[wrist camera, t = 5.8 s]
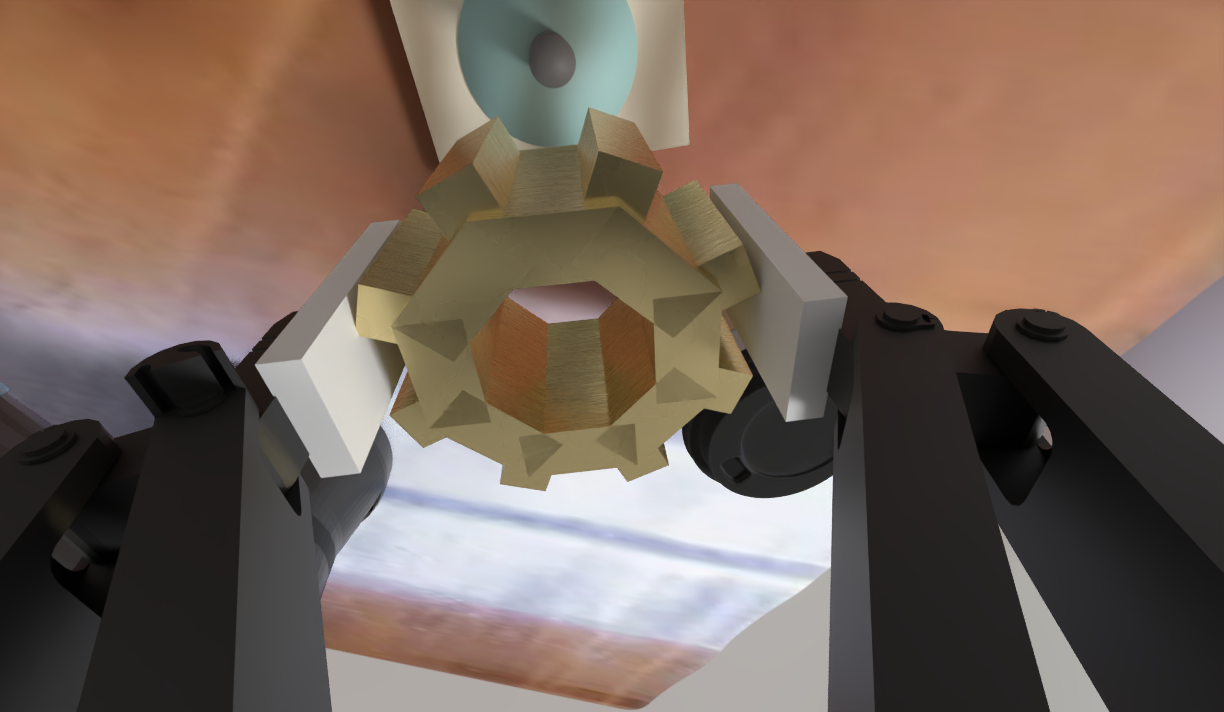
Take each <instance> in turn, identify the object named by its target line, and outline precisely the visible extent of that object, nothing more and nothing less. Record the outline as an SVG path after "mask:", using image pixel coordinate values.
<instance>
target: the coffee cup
mask: <svg viewBox="0 0 1224 712" xmlns="http://www.w3.org/2000/svg"><path fill="white" fill-rule="evenodd" d="M721 313H722V315H723V317H724V319H725V321H726V323H727V325H728V327H729V329H730V331H731V333H732V335H733V337H734V339H735V341H736V343H737V345H738V347H739V349H740V351H741V353H742V355H743V357H744V359H745V361H746V363H747V365H748V367H749V369H750V371H751V373H752V375H753V377H752V378H751V380H750V382H749V383H748V385H747V387H746V389H745V390H744V392H743V394H742V396H741V397H740V399H739V401H738V402H737V404H736V406H735V408H734V409H733V411H732V413H731V414H729V413H724V412H719V411H714V410H710V409H705V408H704V409H703V410H702V411H701V412H699V413H698V414H697V415H696V416H695V417H694V418H692V419H691V420H690V421H689V422H688V423H686V424H685V425H684V426H683V427H682V434H683V440H684V444H685V446H686V449H687V451H688V453H689V454H690V456H691V457H692V458H693V460H694V462H695V463H696V465H697V466H698V467H699V469H700V470H701V471H702V472H703V473H705V474H706V475H707V476H708V477H710V478H711V479H713V480H715V481H717V482H719V483H721V484H722V485H723V486H724V487H726V488H727V489H729V490H731V491H733V492H735V493H737V494H740V495H743V496H748V497H754V498H775V497H782V496H787V495H791V494H795V493H798V492H801V491H804V490H807V489H809V488H811V487H814V486H816V485H818V484H820V483H821V482H823V481H825V480H826V479H828V478H829V477H831V476H832V475H833V455H830V454H828V451H829V446H830V442H831V438H832V433H833V429H834V424H835V420H836V415H837V411H838V408H837V406H836V405H835V403H834V402H833V400H832V399H831V397H830V396H829V394H828V396H827V401H826V406H825V411H824V416H823V417H822V418H813V419H805V420H797V421H788V422H786V421H785V419H784V418H783V416H782V414H781V412H780V410H779V408H778V407H777V405H776V403H775V401H774V399H773V397H772V395H771V394H770V392H769V390H768V388H767V386H766V384H765V382H764V381H763V379H762V377H761V375H760V373H759V371H758V369H757V368H756V366H755V364H754V362H753V360H752V358H751V356H750V355H749V353H748V351H747V349H746V347H745V345H744V343H743V342H742V340H741V338H740V336H739V334H738V332H737V330H736V329H735V327H734V325H733V323H732V321H731V319H730V317H729V316H728V314H727V312H726V310H725V309H724V310H722V312H721Z"/></svg>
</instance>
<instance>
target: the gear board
mask: <svg viewBox="0 0 1224 712" xmlns="http://www.w3.org/2000/svg"><path fill="white" fill-rule="evenodd" d="M390 3H391V6H392V9H393V13H394V16H395V19H396V22H397V26H398V29H399V32H400V35H401V39H402V42H403V45H404V48H405V52H406V55H407V58H408V61H409V65H410V68H411V71H412V74H413V78H414V81H415V84H416V88H417V91H418V94H419V97H420V101H421V104H422V107H423V110H424V114H425V117H426V120H427V123H428V127H429V130H430V133H431V136H432V140H433V143H434V146H435V149H436V153H437V156H438V159H439V162H441V161H442V160H443V158H444V157H445V156H446V154H447V153H448V152H449V150H450V149H451V148H452V146H453V145H454V144H455V142H456V141H457V140H458V139H460V138H462V137H463V136H465V135H467V134H468V133H470V132H472V131H473V130H475V129H477V128H478V127H480V126H482V125H483V124H485V123H487V122H488V121H490V120H492V119H494V118H495V117H497V116H499V118H500V119H501V121H502V123H503V124H504V126H505V128H506V129H507V131H508V133H509V135H510V136H511V138H512V140H513V141H514V143H515V145H516V146H517V148H518V150H528V149H538V148H548V147H558V146H569V145H578V143H579V139H580V136H581V132H582V128H583V125H584V121H585V118H586V114H587V110H588V107H590V108H593V109H596V110H599V111H602V112H605V113H608V114H611V115H614V116H617V117H620V118H623V119H625V120H628V121H631V122H634V123H635V124H636V125H637V127H638V129H639V131H640V132H641V134H642V136H643V138H644V139H645V141H646V143H647V144H648V146H649V148H650V150H651V151H654V150H660V149H666V148H672V147H678V146H684V145H689V123H688V99H687V74H686V50H685V25H684V1H683V0H390Z"/></svg>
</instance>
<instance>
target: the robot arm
mask: <svg viewBox="0 0 1224 712" xmlns="http://www.w3.org/2000/svg"><path fill="white" fill-rule="evenodd" d="M710 200H711V201H712V203H713V204H714V205H715V207H716V208H717V209H718V211H719V212H720V213H721V215H722V216H723V218H724V219H725V220H726V222H727V223H728V224H729V226H730V227H731V228H732V230H733V231H734V233H735V234H736V235H737V237H738V238H739V239H740V241H741V242H742V243H743V245H744V248H745V251H746V253H747V256H748V258H749V261H750V264H751V266H752V269H753V272H754V274H755V277H756V280H757V282H758V285H759V287H760V290H761V293H758V294H756V295H754V296H752V297H750V298H748V299H745V300H743V301H741V302H739V303H737V304H735V305H732V306H730V307H728V308H726V309H725V310H726V312H727V314H728V316H729V317H730V319H731V321H732V323H733V325H734V327H735V329H736V330H737V332H738V334H739V336H740V338H741V340H742V342H743V343H744V345H745V347H746V349H747V351H748V353H749V355H750V356H751V358H752V360H753V362H754V364H755V366H756V368H757V369H758V371H759V373H760V375H761V377H762V379H763V381H764V382H765V384H766V386H767V388H768V390H769V392H770V394H771V395H772V397H773V399H774V401H775V403H776V405H777V407H778V408H779V410H780V412H781V414H782V416H783V418H784V419H785V421H786V422H788V421H797V420H805V419H813V418H822V417H823V416H824V411H825V406H826V401H827V396H828V394H829V396H830V397H831V399H832V400H833V402H834V403H835V405H836V406H837V408H838V411H837V415H836V420H835V424H834V429H833V433H832V438H831V442H830V446H829V451H828V454H830V455H833V499H832V546H831V594H830V638H829V641H830V642H829V685H828V686H829V687H828V712H1050V709H1049V706H1048V702H1047V699H1046V695H1045V691H1044V688H1043V684H1042V681H1041V677H1040V674H1039V670H1038V666H1037V663H1036V659H1035V655H1034V652H1033V648H1032V645H1031V641H1030V638H1029V634H1028V630H1027V627H1026V623H1025V619H1024V616H1023V612H1022V609H1021V605H1020V602H1019V598H1018V595H1017V591H1016V587H1015V583H1014V580H1013V576H1012V573H1011V569H1010V565H1009V562H1008V558H1007V555H1006V551H1005V548H1004V544H1003V540H1002V537H1001V533H1000V530H999V526H1000V528H1001V529H1002V531H1003V533H1004V534H1005V536H1006V538H1007V539H1008V541H1009V543H1010V544H1011V546H1012V548H1013V550H1014V551H1015V553H1016V555H1017V556H1018V558H1019V560H1020V561H1021V563H1022V565H1023V567H1024V568H1025V570H1026V572H1027V573H1028V575H1029V577H1030V578H1031V580H1032V581H1033V583H1034V585H1035V587H1036V588H1037V590H1038V592H1039V594H1040V595H1041V597H1042V599H1043V600H1044V602H1045V604H1046V605H1047V607H1048V609H1049V610H1050V612H1051V614H1052V615H1053V617H1054V619H1055V620H1056V622H1057V624H1058V626H1059V627H1060V629H1061V631H1062V632H1063V634H1064V636H1065V637H1066V639H1067V641H1068V642H1069V644H1070V646H1071V648H1072V649H1073V651H1074V653H1075V654H1076V656H1077V658H1078V659H1079V661H1080V663H1081V664H1082V666H1083V668H1084V669H1085V671H1086V673H1087V675H1088V676H1089V678H1090V680H1091V681H1092V683H1093V685H1094V686H1095V688H1096V690H1097V691H1098V693H1099V695H1100V696H1101V698H1102V700H1103V702H1104V703H1105V705H1106V707H1107V708H1108V710H1109V712H1224V444H1223V443H1221V442H1220V441H1219V440H1218V439H1217V438H1215V437H1214V436H1213V435H1212V434H1211V433H1209V432H1208V431H1207V430H1206V429H1205V428H1204V427H1202V426H1201V425H1200V424H1199V423H1198V422H1196V421H1195V420H1194V419H1193V418H1192V417H1191V416H1189V415H1188V414H1187V413H1186V412H1185V411H1184V410H1182V409H1181V408H1180V407H1179V406H1178V405H1176V404H1175V403H1174V402H1173V401H1172V400H1170V399H1169V398H1168V397H1167V396H1166V395H1164V394H1163V393H1162V392H1161V391H1160V390H1159V389H1157V388H1156V387H1155V386H1154V385H1153V384H1151V383H1150V382H1149V381H1148V380H1147V379H1146V378H1144V377H1143V376H1142V375H1141V374H1140V373H1138V372H1137V371H1136V370H1135V369H1134V368H1132V367H1131V366H1130V365H1129V364H1128V363H1127V362H1125V361H1124V360H1123V359H1122V358H1121V357H1119V356H1118V355H1117V354H1116V353H1115V352H1113V351H1112V350H1111V349H1110V348H1109V347H1108V346H1106V345H1105V344H1104V343H1103V342H1102V341H1100V340H1099V339H1098V338H1097V337H1096V336H1095V335H1093V334H1092V333H1091V332H1090V331H1089V330H1087V329H1086V328H1085V327H1083V326H1081V325H1080V324H1078V323H1077V322H1075V321H1073V320H1071V319H1068V318H1066V317H1063V316H1061V315H1059V314H1058V313H1055V312H1051V311H1047V312H1046V311H1045V310H1042V309H1011V310H1005V311H1003V312H1001V313H999V314H996V316H995V318H994V321H993V323H992V326H991V328H990V331H989V333H974V332H959V331H947V330H944V328H943V325H942V323H941V322H940V321H939V319H938V318H937V317H936V316H934V315H933V314H931V313H930V312H928V311H927V310H924V309H921V308H918V307H916V306H913V305H908V304H902V303H886V302H885V301H884V300H883V299H882V298H881V297H880V296H879V295H877V294H876V293H875V292H874V291H873V290H872V289H871V288H870V287H869V286H868V285H867V284H866V283H865V282H863V281H860V278H859V277H858V276H857V275H856V274H855V273H854V272H851V270H850V269H849V268H848V267H847V266H846V265H845V264H844V263H843V262H842V261H841V260H840V259H838V258H836V257H833V256H831V255H829V254H826V253H824V252H822V251H816V252H807V253H805V252H804V251H803V250H802V249H801V248H800V247H799V246H798V245H797V244H796V243H795V242H794V241H793V240H792V239H791V238H790V237H789V236H788V235H787V234H786V233H785V232H784V231H783V230H782V229H781V228H780V227H779V225H778V224H777V223H776V222H775V221H774V220H773V219H772V218H771V217H770V216H769V215H768V214H767V213H766V212H765V211H764V210H763V209H762V208H761V207H760V206H759V205H758V204H757V203H756V202H755V201H754V200H753V199H752V198H751V197H750V196H749V195H748V194H747V193H746V192H745V191H744V189H743V188H742V187H741V186H740V185H739V184H738V183H735V184H725V185H716V186H710ZM400 225H401V222H400V220H393V221H383V222H374V223H371V224H370V225H369V226H368V228H367V229H366V230H365V231H364V232H363V234H362V235H361V236H360V237H359V239H358V240H357V241H356V242H355V243H354V245H353V246H352V247H351V248H350V249H349V251H348V252H347V253H346V254H345V256H344V257H343V258H342V259H341V260H340V262H339V263H338V264H337V265H336V267H335V268H334V269H333V270H332V271H331V273H330V274H329V275H328V276H327V277H326V279H325V280H324V281H323V282H322V284H321V285H320V286H319V287H318V288H317V290H316V291H315V292H314V293H313V294H312V296H311V297H310V298H309V299H308V301H307V302H306V303H305V304H304V305H303V307H302V308H301V309H300V310H299V311H296V312H292V313H290V314H289V315H287V316H286V317H284V318H283V319H281V320H280V321H278V322H277V323H275V324H274V325H273V326H272V327H271V328H270V329H269V331H268V332H267V333H266V334H265V335H264V336H263V337H262V341H259V342H258V343H257V344H256V346H255V347H254V348H253V349H252V350H253V352H249V354H248V355H247V356H246V357H245V358H244V359H243V361H242V362H241V363H240V364H239V365H238V366H237V367H236V369H235V368H234V367H233V365H232V364H231V362H230V360H229V359H228V357H227V355H226V354H225V352H224V351H223V349H222V347H221V346H220V344H219V343H217V342H213V341H210V340H208V341H193V342H189V343H184V344H179V345H176V346H173V347H171V348H168V349H165V350H162V351H160V352H158V353H156V354H154V355H152V356H150V357H148V358H146V359H144V360H143V361H141V362H140V363H139V364H137V365H136V366H134V367H133V368H132V369H131V370H130V371H129V372H128V374H127V375H126V376H125V379H126V381H127V382H128V383H129V384H130V386H131V387H132V388H133V390H134V391H135V392H136V393H137V395H138V396H139V397H140V399H141V400H142V401H143V402H144V404H145V405H146V406H147V408H148V409H149V410H150V411H151V413H152V414H153V415H154V417H155V421H154V425H153V427H151V428H148V429H144V430H141V431H138V432H134V433H131V434H127V435H124V436H121V437H117V438H114V439H113V437H112V436H111V435H110V434H109V433H108V432H107V430H106V429H105V428H104V427H103V426H102V425H101V424H100V422H99V421H95V420H91V419H84V420H75V421H70V422H67V423H63V424H60V425H52V424H50V423H49V422H47V421H46V420H44V419H43V418H42V417H40V416H39V415H37V414H36V413H34V412H33V411H32V410H30V409H29V408H27V407H26V406H24V405H23V404H22V403H20V402H19V401H17V400H16V399H14V398H13V397H12V396H10V395H9V394H7V393H6V392H8V391H10V390H11V388H10V387H8V386H7V385H5V384H4V383H3V382H1V381H0V712H332V707H331V698H330V688H329V678H328V670H327V660H326V650H325V640H324V631H323V621H322V612H321V602H320V600H321V597H322V594H323V591H324V588H325V585H326V582H327V579H328V577H329V574H330V571H331V568H332V566H333V563H334V560H335V557H336V555H337V554H338V553H339V551H340V550H341V549H342V548H343V546H344V545H345V544H346V542H347V541H348V539H349V538H350V537H351V535H352V534H353V533H354V531H355V530H356V529H357V527H358V526H359V524H360V523H361V522H362V521H363V520H364V519H366V518H367V517H368V516H369V515H370V514H371V512H372V511H373V510H374V509H375V508H376V506H377V505H378V503H379V502H380V500H381V498H382V496H383V494H384V491H385V488H386V485H387V482H388V479H389V476H390V472H391V468H392V450H391V446H390V443H389V440H388V438H387V436H386V434H385V432H384V430H383V429H382V427H381V426H380V424H381V422H382V420H383V417H384V415H385V412H386V410H387V407H388V405H389V403H390V400H391V398H392V395H393V393H394V390H395V388H396V386H397V383H398V381H399V378H400V376H401V373H402V371H403V369H404V366H405V362H404V360H403V357H402V354H401V352H400V349H399V346H398V344H395V343H390V342H386V341H381V340H376V339H371V338H367V337H362V336H359V335H358V332H357V330H356V313H357V298H358V284H359V283H360V281H361V280H362V278H363V277H364V276H365V274H366V273H367V271H368V270H369V269H370V267H371V266H372V264H373V263H374V262H375V260H376V259H377V257H378V256H379V255H380V253H381V252H382V250H383V249H384V248H385V246H386V245H387V243H388V242H389V241H390V239H391V238H392V236H393V235H394V234H395V232H396V231H397V229H398V228H399V227H400ZM1047 426H1048V428H1049V430H1050V432H1051V436H1052V446H1051V445H1050V444H1049V443H1048V441H1047V440H1046V439H1045V438H1044V437H1043V435H1042V434H1043V432H1044V430H1045V428H1046V427H1047ZM998 524H999V526H998Z"/></svg>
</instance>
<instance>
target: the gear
mask: <svg viewBox="0 0 1224 712" xmlns="http://www.w3.org/2000/svg"><path fill="white" fill-rule="evenodd" d="M662 173H663V170H662V169H661V167H660V165H659V163H658V162H657V160H656V158H655V157H654V155H653V153H652V151H651V150H650V148H649V146H648V144H647V143H646V141H645V139H644V138H643V136H642V134H641V132H640V131H639V129H638V127H637V125H636V124H635V123H634V122H631V121H628V120H625V119H623V118H620V117H617V116H614V115H611V114H608V113H605V112H602V111H599V110H596V109H593V108H590V107H588V110H587V114H586V118H585V121H584V125H583V128H582V132H581V136H580V139H579V143H578V145H569V146H558V147H548V148H538V149H528V150H518V148H517V146H516V145H515V143H514V141H513V140H512V138H511V136H510V135H509V133H508V131H507V129H506V128H505V126H504V124H503V123H502V121H501V119H500V118H499V116H497V117H495V118H494V119H492V120H490V121H488V122H487V123H485V124H483V125H482V126H480V127H478V128H477V129H475V130H473V131H472V132H470V133H468V134H467V135H465V136H463V137H462V138H460V139H458V140H457V141H456V142H455V144H454V145H453V146H452V148H451V149H450V150H449V152H448V153H447V154H446V156H445V157H444V158H443V160H442V161H441V162H440V164H439V165H438V167H437V168H436V169H435V171H434V172H433V173H432V175H431V176H430V177H429V179H428V180H427V181H426V183H425V184H424V185H423V187H422V188H421V189H420V191H419V192H418V193H417V195H416V196H415V197H416V198H417V199H418V201H419V202H420V203H421V205H422V206H423V207H424V209H425V210H426V211H427V212H425V211H421V210H418V209H414V208H412V210H411V211H410V213H409V214H408V215H407V217H406V218H405V220H404V221H403V222H402V224H401V225H400V227H399V228H398V229H397V231H396V232H395V234H394V235H393V236H392V238H391V239H390V241H389V242H388V243H387V245H386V246H385V248H384V249H383V250H382V252H381V253H380V255H379V256H378V257H377V259H376V260H375V262H374V263H373V264H372V266H371V267H370V269H369V270H368V271H367V273H366V274H365V276H364V277H363V278H362V280H361V281H360V283H359V284H358V298H357V313H356V330H357V332H358V335H359V336H362V337H367V338H371V339H376V340H381V341H386V342H390V343H395V344H398V346H399V349H400V352H401V354H402V357H403V360H404V362H405V365H406V368H407V370H408V372H407V374H406V376H405V379H404V381H403V384H402V386H401V389H400V391H399V393H398V396H397V398H396V401H395V403H394V405H393V408H392V410H391V413H390V415H389V416H391V417H392V418H393V419H394V420H395V421H396V422H397V423H398V424H399V425H400V426H401V427H402V428H403V429H404V430H405V431H406V432H407V433H408V434H409V435H410V436H411V437H412V438H413V439H414V440H416V441H417V442H418V443H419V444H420V445H421V446H422V447H423V448H424V447H426V446H428V445H431V444H433V443H435V442H437V441H439V440H441V439H444V438H446V437H447V438H449V439H451V440H453V441H455V442H457V443H459V444H461V445H463V446H465V447H467V448H470V449H472V450H474V451H476V452H478V453H480V454H482V455H484V456H486V457H488V458H490V459H492V460H494V461H496V462H498V463H500V464H502V473H501V480H500V484H503V485H509V486H516V487H522V488H528V489H535V490H541V491H546V488H547V486H548V483H549V480H550V477H551V475H556V474H565V473H574V472H583V471H592V470H600V469H609V468H618V470H619V471H620V472H621V474H622V475H623V476H624V478H625V479H626V480H627V482H629V481H631V480H633V479H636V478H638V477H641V476H643V475H646V474H648V473H651V472H653V471H656V470H658V469H661V468H663V467H665V466H668V465H669V464H668V459H667V455H666V450H665V446H664V442H665V441H667V440H668V439H669V438H670V437H671V436H672V435H674V434H675V433H676V432H677V431H678V430H679V429H681V428H682V427H683V426H684V425H685V424H686V423H688V422H689V421H690V420H691V419H692V418H694V417H695V416H696V415H697V414H698V413H699V412H701V411H702V410H703V409H704V408H705V409H710V410H714V411H719V412H724V413H729V414H731V413H732V411H733V409H734V408H735V406H736V404H737V402H738V401H739V399H740V397H741V396H742V394H743V392H744V390H745V389H746V387H747V385H748V383H749V382H750V380H751V378H752V377H753V375H752V373H751V371H750V369H749V367H748V365H747V363H746V361H745V359H744V357H743V355H742V353H741V351H740V349H739V347H738V345H737V343H736V341H735V339H734V337H733V335H732V333H731V331H730V329H729V327H728V325H727V323H726V321H725V319H724V317H723V315H722V313H721V312H722V310H724V309H726V308H728V307H730V306H732V305H735V304H737V303H739V302H741V301H743V300H745V299H748V298H750V297H752V296H754V295H756V294H758V293H761V290H760V287H759V285H758V282H757V280H756V277H755V274H754V272H753V269H752V266H751V264H750V261H749V258H748V256H747V253H746V251H745V248H744V245H743V243H742V242H741V241H740V239H739V238H738V237H737V235H736V234H735V233H734V231H733V230H732V228H731V227H730V226H729V224H728V223H727V222H726V220H725V219H724V218H723V216H722V215H721V213H720V212H719V211H718V209H717V208H716V207H715V205H714V204H713V203H712V201H711V200H710V198H709V197H708V196H707V194H706V193H705V192H704V190H703V189H702V188H701V186H700V185H699V183H698V182H697V181H696V180H694V181H692V182H690V183H688V184H686V185H684V186H683V187H681V188H679V189H677V190H675V191H673V192H671V193H669V194H667V195H665V196H663V195H661V194H660V193H659V192H658V191H657V187H658V184H659V181H660V179H661V176H662ZM587 281H596V282H597V283H599V284H600V285H601V286H603V287H604V288H606V289H607V290H608V291H610V292H611V293H612V294H614V295H615V296H616V297H618V298H617V299H616V300H615V301H614V302H613V303H612V304H611V305H610V306H609V308H608V309H607V310H606V311H605V312H604V313H603V314H602V315H601V316H600V317H599V318H598V319H589V320H579V321H570V322H560V323H551V324H548V323H546V322H545V321H543V320H542V319H540V318H539V317H537V316H536V315H534V314H532V313H531V312H529V311H528V310H526V309H525V308H523V307H522V306H520V305H519V304H517V303H516V302H514V301H513V300H511V299H510V298H508V297H507V296H508V295H509V294H510V293H511V292H512V290H513V289H520V288H529V287H539V286H548V285H558V284H568V283H577V282H587Z"/></svg>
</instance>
